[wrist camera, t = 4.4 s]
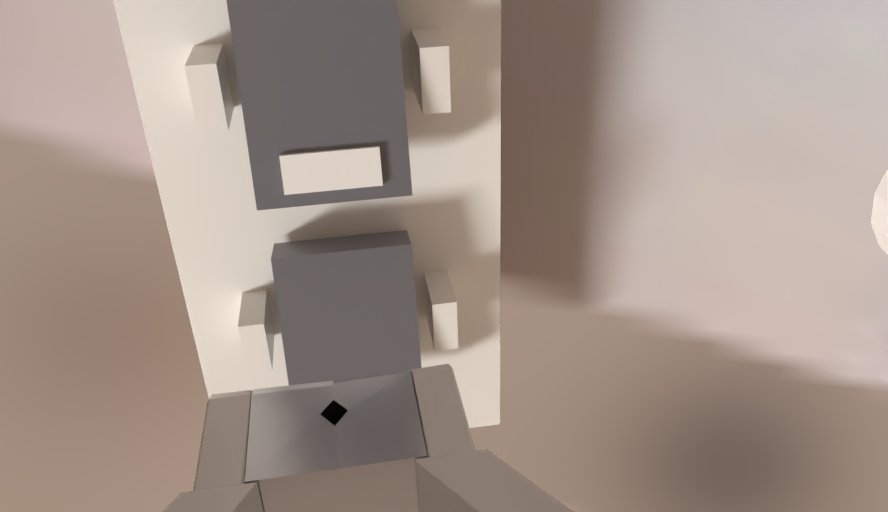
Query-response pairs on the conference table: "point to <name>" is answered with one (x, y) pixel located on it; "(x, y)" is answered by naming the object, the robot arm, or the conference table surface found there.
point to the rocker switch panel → (255, 231)
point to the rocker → (347, 306)
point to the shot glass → (881, 213)
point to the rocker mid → (321, 100)
